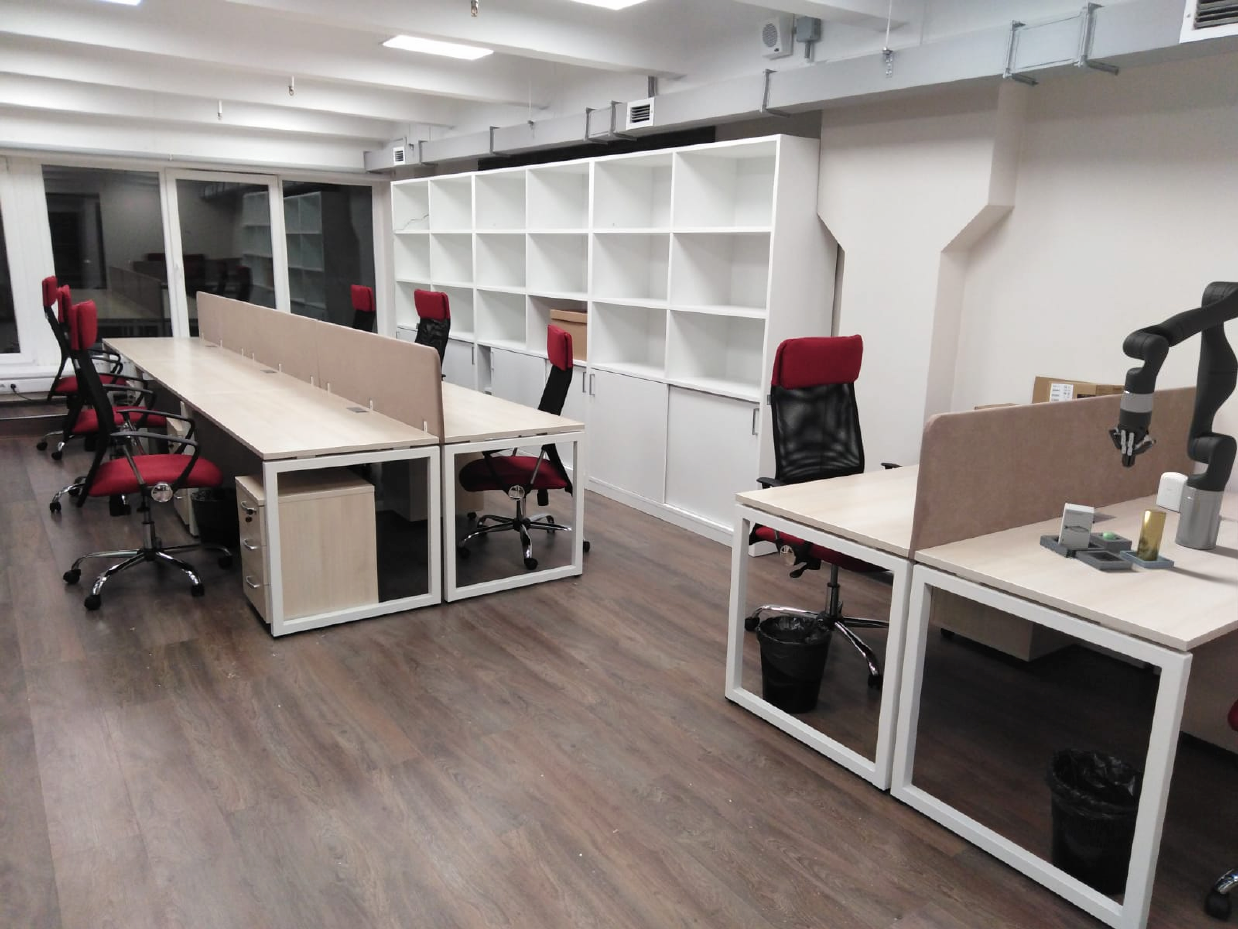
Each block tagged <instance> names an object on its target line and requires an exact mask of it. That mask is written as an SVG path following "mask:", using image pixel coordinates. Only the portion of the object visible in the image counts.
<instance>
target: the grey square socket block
mask: <svg viewBox="0 0 1238 929" xmlns="http://www.w3.org/2000/svg"><path fill="white" fill-rule="evenodd" d="M1110 532H1111V531H1110ZM1111 533H1113V532H1111ZM1089 540H1090V541H1093V542H1095V543H1097V544H1099V545H1101V546H1103V547H1106V548H1107V551H1109V552H1111V553H1120V551H1132V545H1133V540H1131V539H1128V538H1125V537H1124V536H1121V535H1119V534H1117V538H1116V539H1106V538H1104V537H1103V532H1091V533H1090V539H1089Z"/></svg>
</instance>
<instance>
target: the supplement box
mask: <svg viewBox="0 0 1238 929" xmlns="http://www.w3.org/2000/svg"><path fill="white" fill-rule="evenodd" d="M1062 514H1063V516H1062V519H1061V524H1060V530H1059V535H1060V536H1059V541H1058V543H1060V544H1062V545H1064V546H1066V547H1068V548H1088V545H1089V539H1090V533H1092V528H1093V521H1094V517H1095V507H1093V506H1087V505H1081V504H1073V503H1068V502H1065V504H1064V508H1063V513H1062Z"/></svg>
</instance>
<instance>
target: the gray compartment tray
mask: <svg viewBox="0 0 1238 929" xmlns="http://www.w3.org/2000/svg"><path fill="white" fill-rule="evenodd" d="M1059 536H1060V534H1051V535H1050V534H1048V535H1045V534H1044V535H1041V536H1040V540H1039V544H1040V546H1041V547H1043V546H1044V548H1045V549H1047V548H1048V550H1049V549H1050V550H1049V551H1051V552H1053V551H1055V552H1056V553H1055V552H1054V553H1055V554H1057V553H1058V555H1059V556H1061V555H1062V556H1061V557H1063V556H1064V557H1063V558H1066V559H1069V558H1070V559H1069V560H1071V559H1076V560H1078V561H1079V562H1082V563H1084V564H1085V565H1087V566H1089V567H1092V568H1094V569H1096V570H1097V571H1099V572H1100V571H1101V572H1102V571H1131V570H1132V569H1133V568H1132V567H1133V564H1134V563H1133V562H1131V561H1129V560H1126V559H1124V558H1122V557H1120V556H1119V554H1118V555H1117V554H1116V553H1114V552H1109V551H1107V548H1106V547H1103V546H1101V545H1099V544H1097V543H1095V542H1093V541H1090V540H1089V545H1088V548H1068V547H1066V546H1064V545H1062V544H1060V543H1058V541H1059ZM1101 560H1105V561H1101Z"/></svg>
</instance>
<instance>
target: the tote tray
mask: <svg viewBox="0 0 1238 929" xmlns="http://www.w3.org/2000/svg"><path fill="white" fill-rule="evenodd" d="M1136 553H1137V550H1131V551H1120V552H1119V554H1118V556H1120V557H1122V558H1124V559H1126V560H1129V561H1131V562H1133V564H1134V565H1137V566H1139V567H1141V568H1143V569H1151V568H1174V567H1175V561H1174V560H1172V559H1169V558H1167V557H1165V556H1162V555H1160V554H1158V559H1157V561H1143V560H1141V559H1139V558H1136Z"/></svg>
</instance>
